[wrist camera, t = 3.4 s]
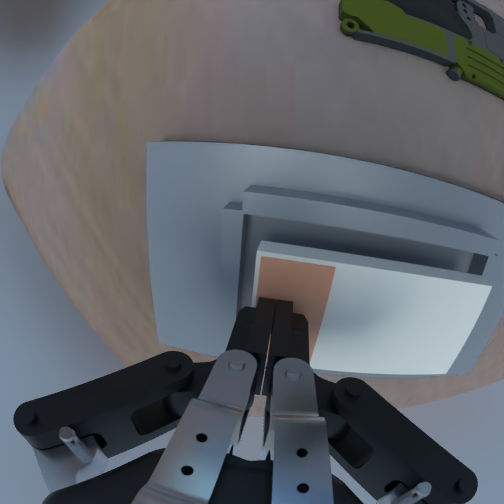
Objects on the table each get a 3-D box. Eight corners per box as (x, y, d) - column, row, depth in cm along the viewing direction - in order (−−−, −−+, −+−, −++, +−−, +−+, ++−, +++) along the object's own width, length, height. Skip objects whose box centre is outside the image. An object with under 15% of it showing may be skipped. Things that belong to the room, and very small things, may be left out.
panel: (521, 210, 12) (553, 227, 9) (460, 358, 18) (475, 389, 14) (163, 141, 15) (126, 143, 12) (168, 327, 21) (147, 359, 17)
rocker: (481, 275, 10) (493, 287, 9) (440, 360, 13) (446, 375, 12) (261, 240, 12) (256, 252, 11) (249, 343, 14) (245, 360, 13)
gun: (517, -4, 4) (541, 133, 10) (326, -84, 6) (338, 54, 12) (531, -9, 2) (560, 137, 8) (327, -101, 4) (345, 41, 10)
